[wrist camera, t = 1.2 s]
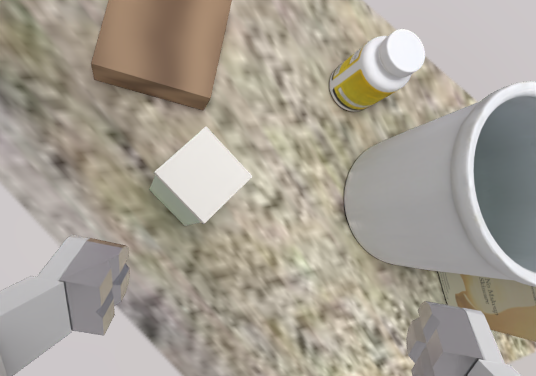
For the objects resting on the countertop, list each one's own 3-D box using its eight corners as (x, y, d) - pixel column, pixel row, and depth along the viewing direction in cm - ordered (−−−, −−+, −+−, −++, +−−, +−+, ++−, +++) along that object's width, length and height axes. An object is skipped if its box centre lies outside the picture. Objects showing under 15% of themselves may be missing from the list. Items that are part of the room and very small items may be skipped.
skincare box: (434, 267, 47) (535, 276, 35) (464, 254, 48) (569, 259, 37) (452, 323, 47) (558, 350, 35) (481, 308, 48) (592, 330, 36)
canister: (184, 227, 39) (204, 223, 29) (147, 189, 38) (154, 171, 28) (221, 192, 40) (252, 176, 30) (186, 154, 39) (206, 126, 29)
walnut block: (94, 80, 38) (91, 63, 34) (121, -17, 40) (120, -44, 36) (202, 111, 41) (210, 98, 37) (223, 19, 43) (232, -3, 39)
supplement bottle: (373, 114, 46) (434, 83, 37) (329, 110, 45) (381, 77, 36) (370, 67, 47) (429, 25, 38) (326, 62, 45) (377, 16, 36)
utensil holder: (456, 148, 50) (619, 102, 33) (452, 276, 47) (626, 295, 31) (344, 124, 45) (469, 58, 29) (334, 264, 43) (463, 280, 26)
